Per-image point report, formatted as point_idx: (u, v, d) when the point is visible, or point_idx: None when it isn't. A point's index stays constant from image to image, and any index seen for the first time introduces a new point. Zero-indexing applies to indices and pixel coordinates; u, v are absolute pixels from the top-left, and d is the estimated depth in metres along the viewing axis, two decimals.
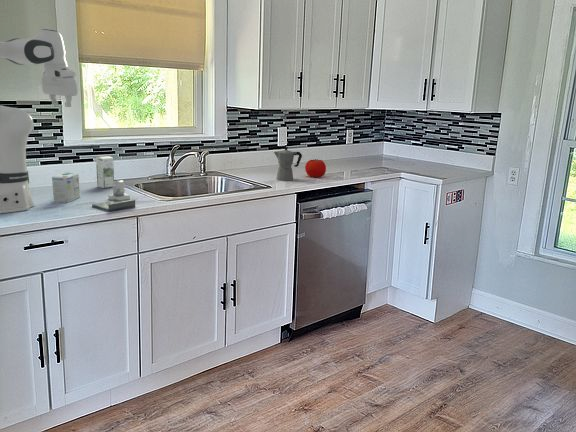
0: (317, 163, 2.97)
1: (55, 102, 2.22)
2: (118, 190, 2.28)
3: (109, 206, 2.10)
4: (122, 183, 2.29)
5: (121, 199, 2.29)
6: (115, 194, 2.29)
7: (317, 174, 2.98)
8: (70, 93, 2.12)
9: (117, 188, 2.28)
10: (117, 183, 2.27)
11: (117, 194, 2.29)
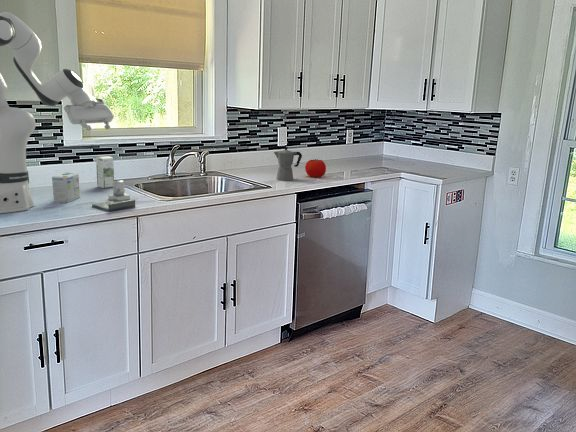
0: (317, 163, 2.97)
1: None
2: (118, 190, 2.28)
3: (109, 206, 2.10)
4: (122, 183, 2.29)
5: (121, 199, 2.29)
6: (115, 194, 2.29)
7: (317, 174, 2.98)
8: None
9: (117, 188, 2.28)
10: (117, 183, 2.27)
11: (117, 194, 2.29)
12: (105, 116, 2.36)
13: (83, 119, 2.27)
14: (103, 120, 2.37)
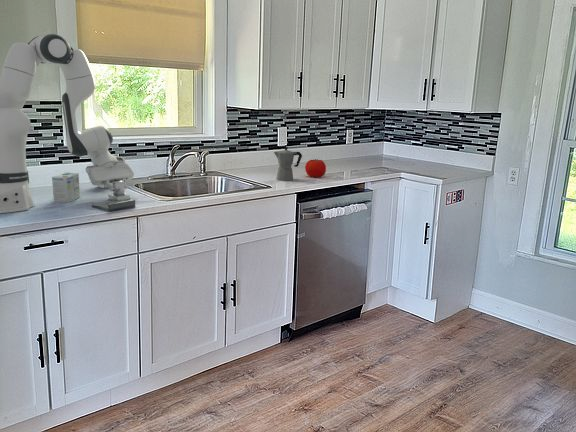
0: (317, 163, 2.97)
1: None
2: (118, 190, 2.28)
3: (109, 206, 2.10)
4: (122, 183, 2.29)
5: (121, 199, 2.29)
6: (115, 194, 2.29)
7: (317, 174, 2.98)
8: None
9: (117, 188, 2.28)
10: (117, 183, 2.27)
11: (117, 194, 2.29)
12: (126, 175, 2.34)
13: (104, 180, 2.26)
14: (120, 179, 2.34)
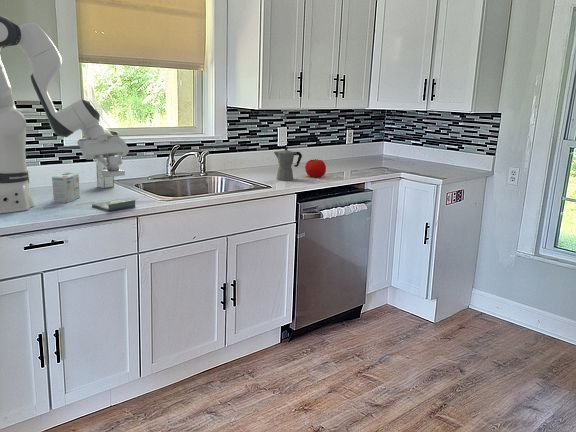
0: (317, 163, 2.97)
1: None
2: (112, 165, 2.15)
3: (109, 206, 2.10)
4: (117, 157, 2.15)
5: (115, 174, 2.15)
6: (109, 169, 2.15)
7: (317, 174, 2.98)
8: None
9: (111, 163, 2.14)
10: (111, 157, 2.14)
11: (111, 169, 2.15)
12: (120, 150, 2.21)
13: (98, 154, 2.12)
14: None
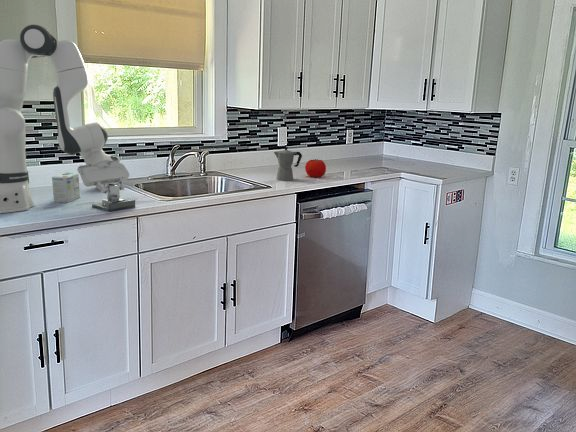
0: (317, 163, 2.97)
1: None
2: (113, 195, 2.14)
3: (109, 206, 2.10)
4: (117, 187, 2.15)
5: None
6: (109, 199, 2.15)
7: (317, 174, 2.98)
8: None
9: (111, 193, 2.14)
10: (111, 187, 2.14)
11: (111, 199, 2.15)
12: (120, 176, 2.20)
13: (98, 181, 2.12)
14: (117, 180, 2.21)
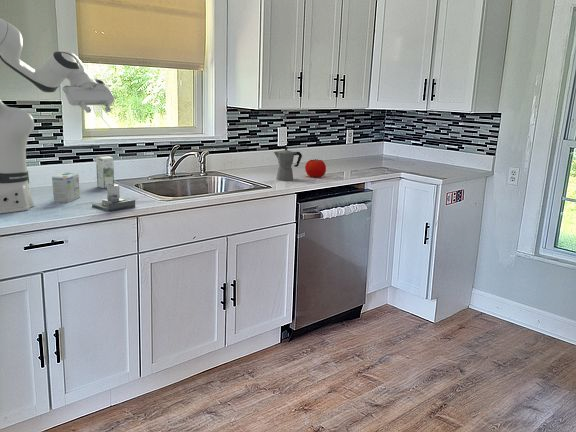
0: (317, 163, 2.97)
1: None
2: (113, 195, 2.14)
3: (109, 206, 2.10)
4: (117, 187, 2.15)
5: None
6: (109, 199, 2.15)
7: (317, 174, 2.98)
8: None
9: (111, 193, 2.14)
10: (111, 187, 2.14)
11: (111, 199, 2.15)
12: (106, 98, 2.25)
13: (83, 100, 2.16)
14: (103, 102, 2.26)
